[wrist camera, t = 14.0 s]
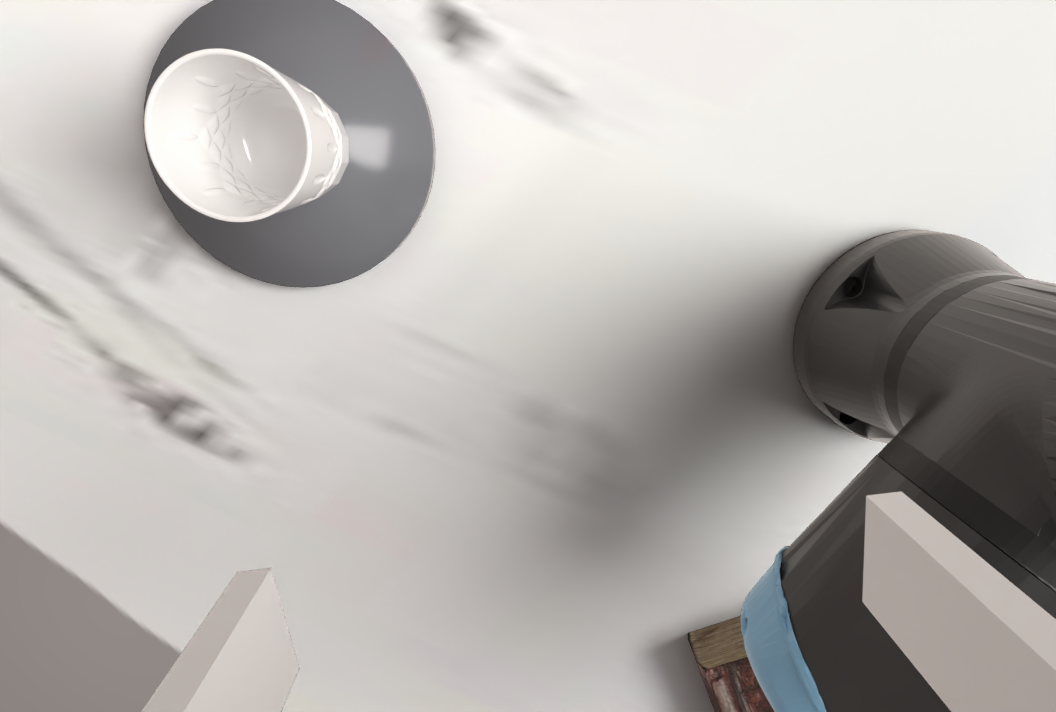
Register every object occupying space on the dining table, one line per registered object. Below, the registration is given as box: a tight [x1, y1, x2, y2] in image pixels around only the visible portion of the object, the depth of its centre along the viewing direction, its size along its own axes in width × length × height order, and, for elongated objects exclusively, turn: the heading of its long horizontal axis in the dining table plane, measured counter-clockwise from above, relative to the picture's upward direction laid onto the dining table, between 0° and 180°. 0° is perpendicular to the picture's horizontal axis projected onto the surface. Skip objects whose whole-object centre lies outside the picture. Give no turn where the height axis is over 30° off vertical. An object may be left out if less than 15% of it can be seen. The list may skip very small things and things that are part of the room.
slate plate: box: [144, 0, 435, 287], centre depth 40 cm, size 18×18×2 cm
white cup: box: [144, 48, 349, 222], centre depth 35 cm, size 8×8×10 cm
